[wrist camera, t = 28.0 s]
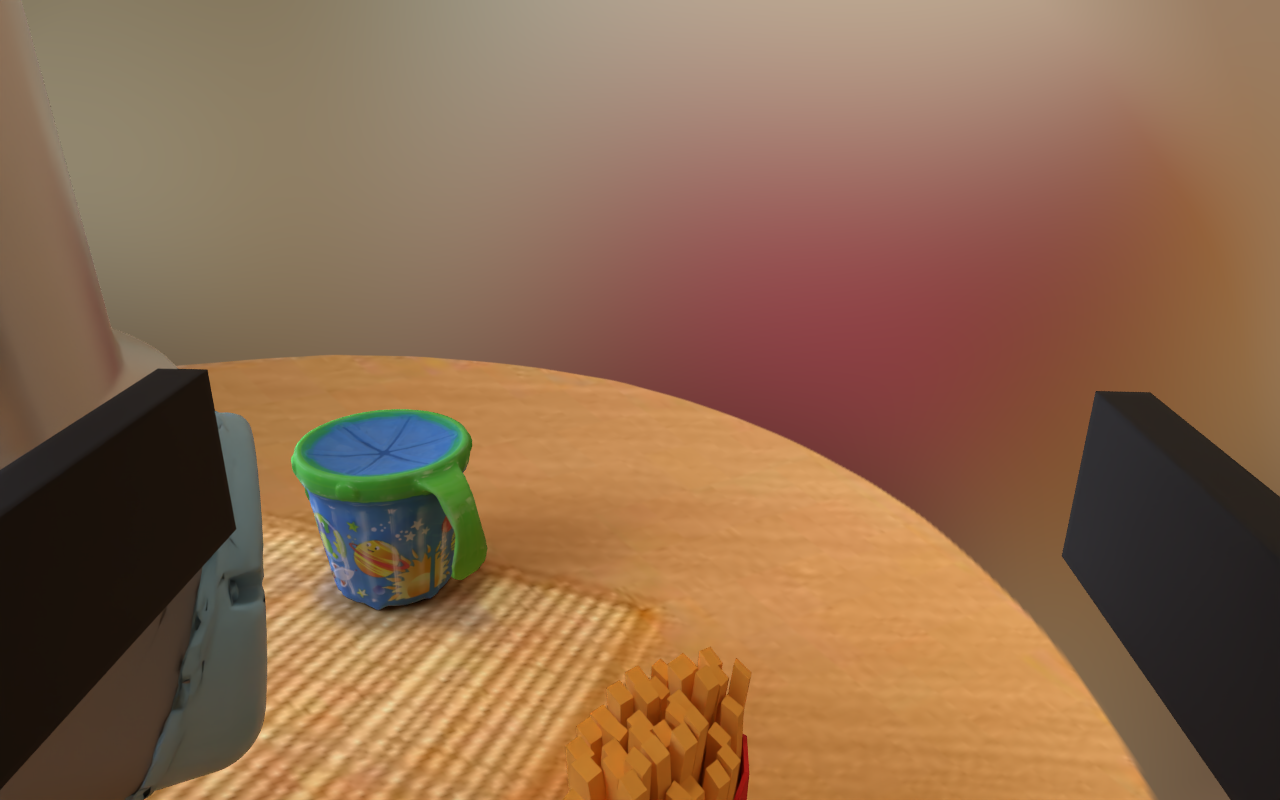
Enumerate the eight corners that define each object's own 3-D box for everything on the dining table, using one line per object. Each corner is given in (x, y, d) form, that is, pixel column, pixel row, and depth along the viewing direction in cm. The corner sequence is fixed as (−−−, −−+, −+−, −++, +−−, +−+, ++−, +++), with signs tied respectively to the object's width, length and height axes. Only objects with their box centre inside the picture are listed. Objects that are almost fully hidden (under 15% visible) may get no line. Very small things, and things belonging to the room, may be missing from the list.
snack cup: (535, 596, 59) (529, 452, 56) (389, 671, 52) (371, 512, 49) (404, 512, 70) (391, 386, 66) (267, 565, 63) (244, 427, 59)
